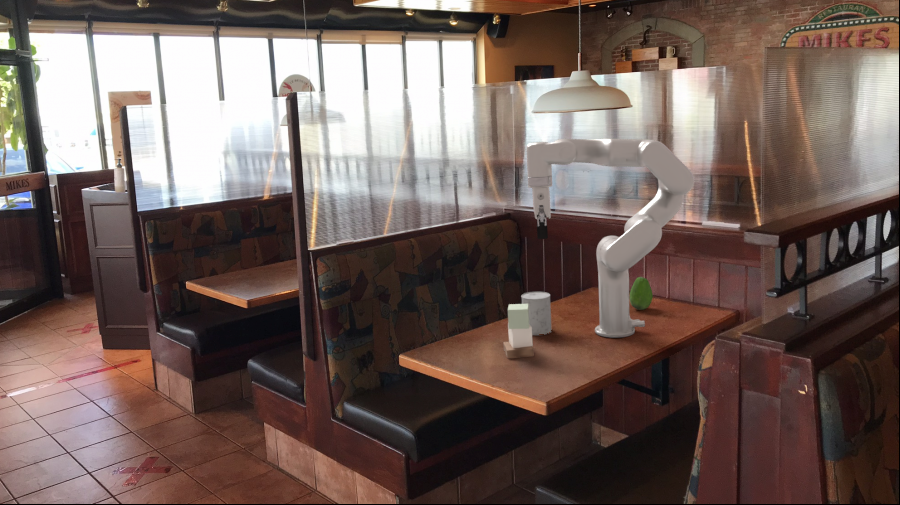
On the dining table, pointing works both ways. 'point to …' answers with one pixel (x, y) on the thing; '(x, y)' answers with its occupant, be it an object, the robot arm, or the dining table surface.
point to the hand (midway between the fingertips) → (542, 235)
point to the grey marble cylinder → (538, 311)
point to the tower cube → (520, 337)
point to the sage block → (518, 316)
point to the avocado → (641, 294)
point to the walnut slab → (517, 351)
